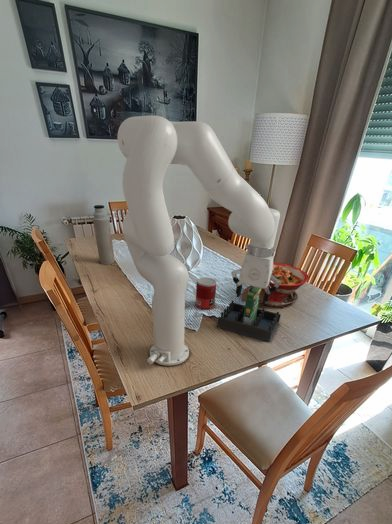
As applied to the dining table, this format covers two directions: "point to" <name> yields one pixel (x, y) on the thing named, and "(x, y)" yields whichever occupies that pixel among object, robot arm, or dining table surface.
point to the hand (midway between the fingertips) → (251, 299)
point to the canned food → (205, 293)
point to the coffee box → (251, 305)
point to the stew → (281, 286)
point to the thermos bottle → (103, 235)
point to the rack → (258, 329)
